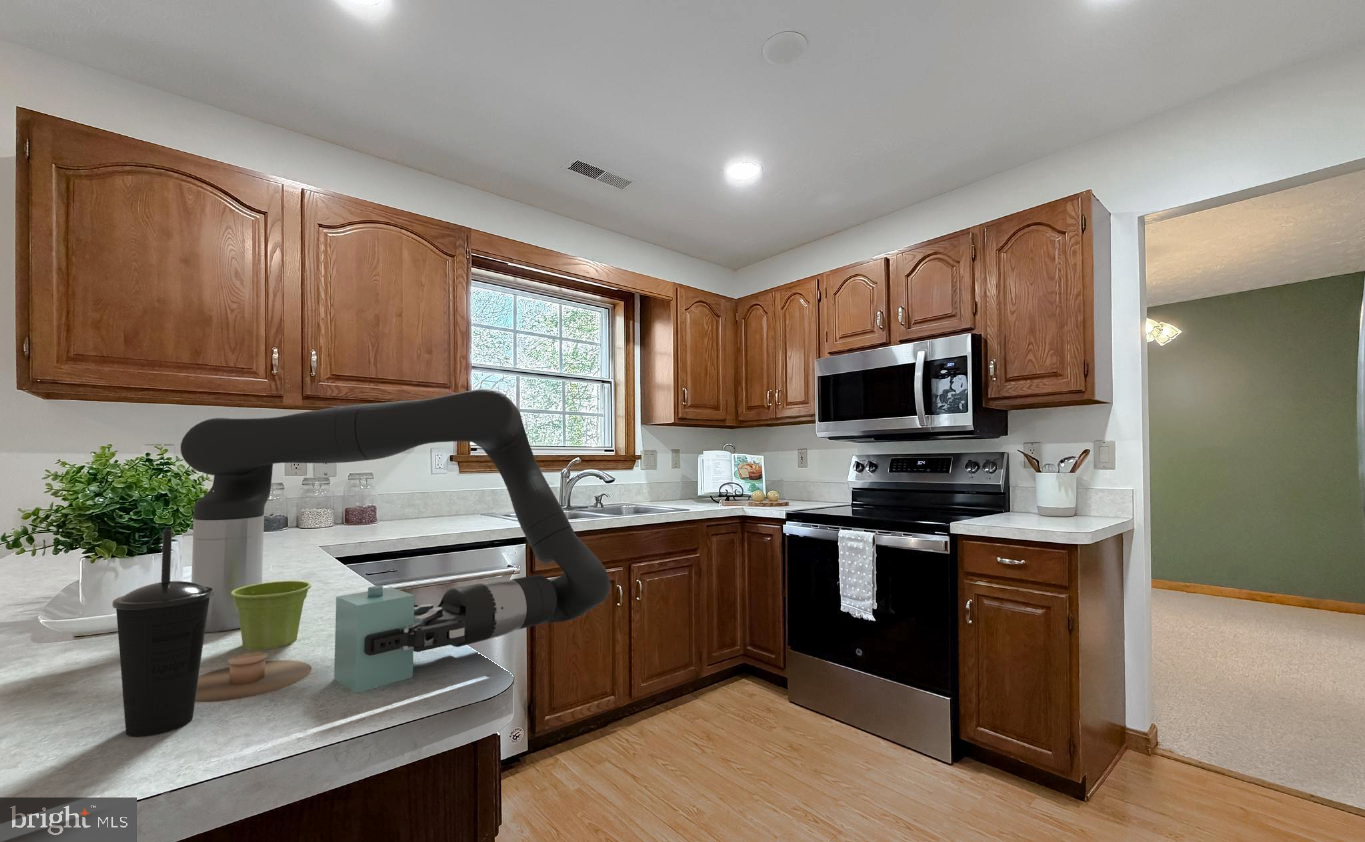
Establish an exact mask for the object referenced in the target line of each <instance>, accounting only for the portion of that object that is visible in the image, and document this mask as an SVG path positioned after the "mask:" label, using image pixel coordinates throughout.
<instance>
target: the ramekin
mask: <svg viewBox="0 0 1365 842" xmlns="http://www.w3.org/2000/svg"><path fill="white" fill-rule="evenodd" d="M267 658H268V653H267V652H264V651H263V652H262V651H254V652H246V653H243V654H238V655H234V656H232V657H230V658H228V660H227V665H229V667H230V678H229V683H230V684H247V683H251V682H255V681H258V680H260V679H262V678H264V677H265V661H266V659H267Z"/></svg>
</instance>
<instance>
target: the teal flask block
mask: <svg viewBox="0 0 1365 842" xmlns="http://www.w3.org/2000/svg"><path fill="white" fill-rule="evenodd" d="M414 603H415V594H412V593H409V592H406V591H403V590H401V589H397V588H394V587H387V588H386V587H385V588H384V586H383V585H374V586H373V585H372V586H369V587H367V591H361V592H355V593H350V594H343V595H337V596H335V627H334V628H335V629H334V630H335V632H334V639H335V640H334V673H333V675H334V677H333V680H334V681H336V682H337V683H340V684H341V685H342V686H344V687H345V688H347V689H348V690H350V691H351V692H352V693H354V694H358V693H362V692H365V691H369V690H373V689H376V688H379V687H383V686H387V685H390V684H394V683H398V682H401V681H406V680H409V679H411V678H413V675H414V651H413V648H411V649H409V650H402V649H401V647H400V649H396V650H392V651H388V652H384V653H380V654H375V655H371V656H369V655H367V654H365V652H364V641H365V637H366V636H367V635H370V634H374V633H379V632H383V631H388V630H393V629H397V628H398V629H400V632H401V628H402V627H404V626H407V625H412V624H414Z"/></svg>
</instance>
